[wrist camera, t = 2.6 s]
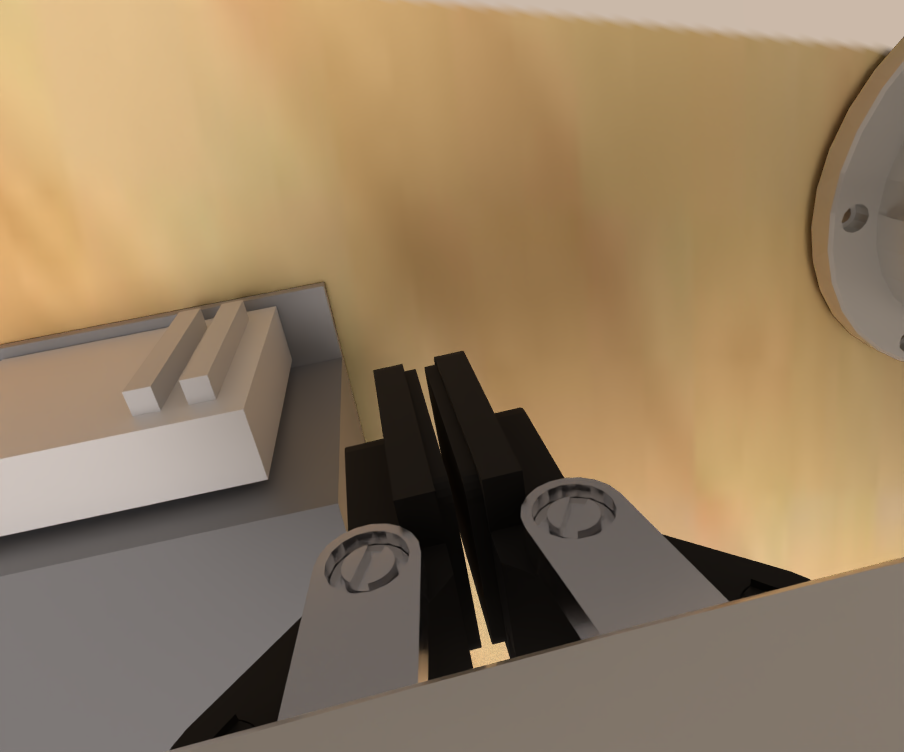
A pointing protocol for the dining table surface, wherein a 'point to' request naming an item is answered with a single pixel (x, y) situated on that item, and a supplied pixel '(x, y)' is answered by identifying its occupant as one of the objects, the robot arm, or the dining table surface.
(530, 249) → the dining table surface
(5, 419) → the door
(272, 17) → the dining table surface
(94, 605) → the camera case
